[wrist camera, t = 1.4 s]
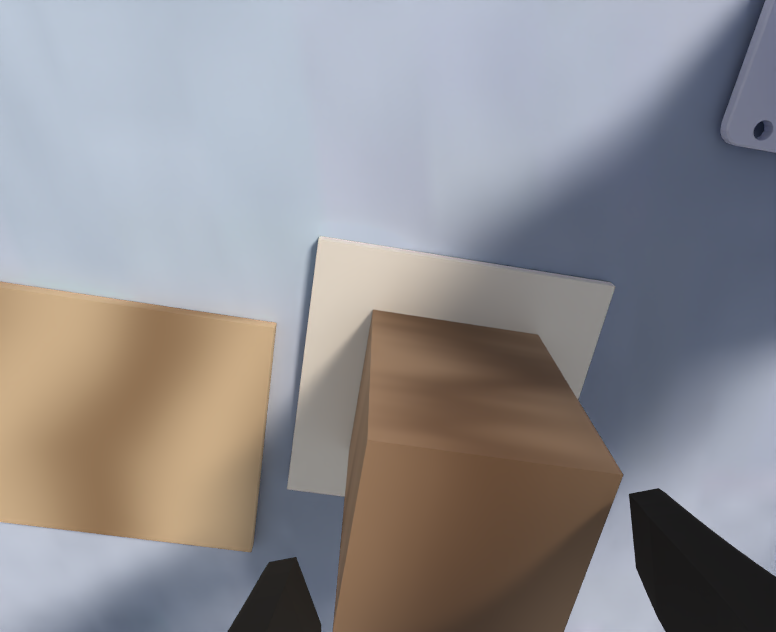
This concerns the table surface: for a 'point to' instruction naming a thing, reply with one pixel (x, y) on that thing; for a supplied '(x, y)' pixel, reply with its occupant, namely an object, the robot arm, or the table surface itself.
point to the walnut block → (467, 484)
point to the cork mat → (131, 417)
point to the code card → (424, 299)
